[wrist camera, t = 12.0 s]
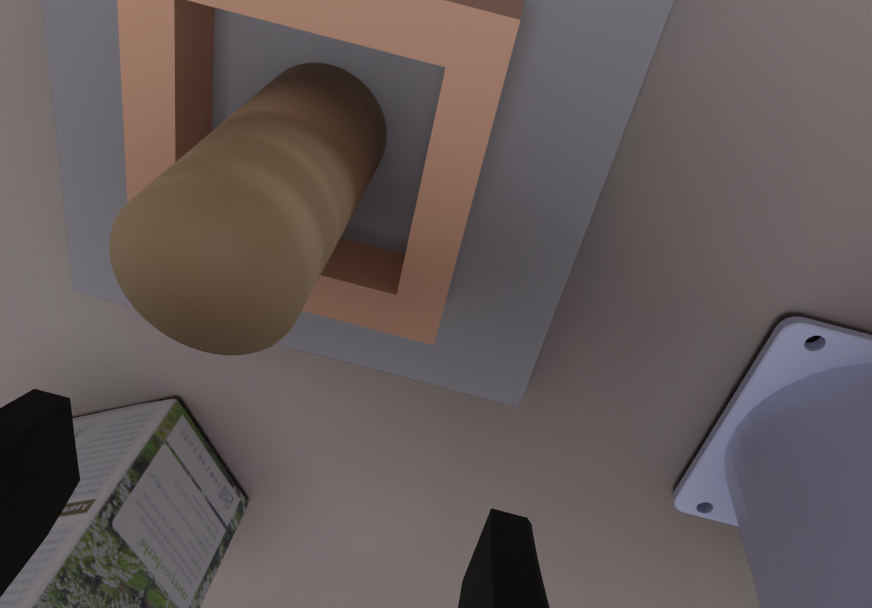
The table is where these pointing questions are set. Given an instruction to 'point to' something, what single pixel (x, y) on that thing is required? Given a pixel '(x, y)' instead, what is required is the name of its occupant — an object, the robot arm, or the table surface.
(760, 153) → the table surface
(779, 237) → the table surface
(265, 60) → the collar stand
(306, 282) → the wood peg
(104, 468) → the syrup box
